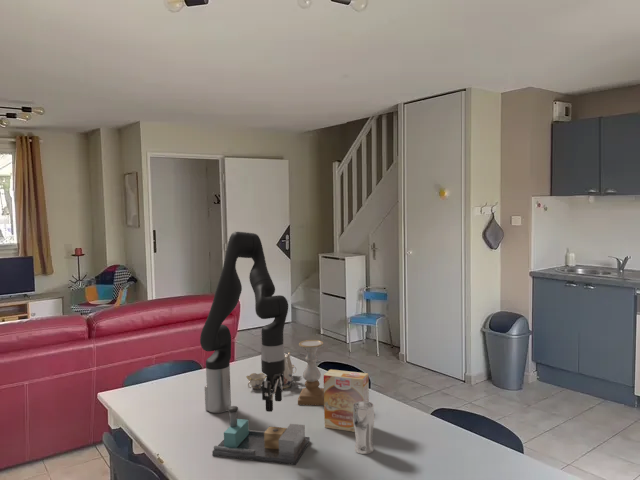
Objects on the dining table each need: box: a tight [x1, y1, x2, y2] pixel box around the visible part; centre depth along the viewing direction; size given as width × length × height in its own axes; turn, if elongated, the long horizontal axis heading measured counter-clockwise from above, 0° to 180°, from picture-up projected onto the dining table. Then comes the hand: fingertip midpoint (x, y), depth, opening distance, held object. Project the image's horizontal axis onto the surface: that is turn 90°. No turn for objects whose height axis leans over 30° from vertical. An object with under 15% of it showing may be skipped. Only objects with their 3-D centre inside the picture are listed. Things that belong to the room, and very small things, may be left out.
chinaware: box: [246, 351, 297, 390], centre depth 231 cm, size 28×17×17 cm, turn 143°
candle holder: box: [297, 339, 324, 406], centre depth 210 cm, size 11×11×24 cm
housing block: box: [264, 426, 288, 449], centre depth 168 cm, size 6×5×5 cm
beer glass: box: [353, 401, 375, 455], centre depth 167 cm, size 7×7×15 cm
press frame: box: [211, 423, 311, 466], centre depth 170 cm, size 28×16×6 cm, turn 75°
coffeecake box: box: [323, 368, 370, 433], centre depth 184 cm, size 15×7×20 cm, turn 68°
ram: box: [223, 405, 250, 448], centre depth 172 cm, size 5×11×11 cm, turn 165°
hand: (274, 405), depth 168 cm, fingers open, 8 cm apart
